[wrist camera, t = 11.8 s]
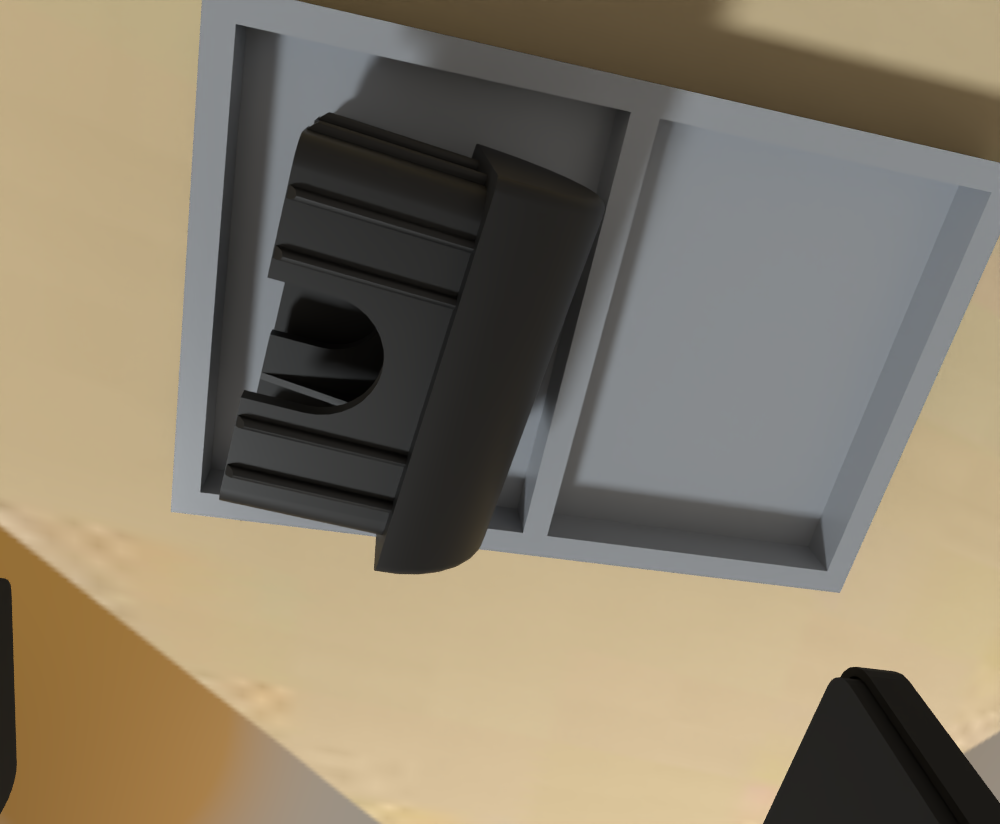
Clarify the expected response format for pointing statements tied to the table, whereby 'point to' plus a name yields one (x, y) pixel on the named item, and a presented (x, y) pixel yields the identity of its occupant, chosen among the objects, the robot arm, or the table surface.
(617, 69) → the table surface
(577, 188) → the end cap
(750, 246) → the divided grey tray
